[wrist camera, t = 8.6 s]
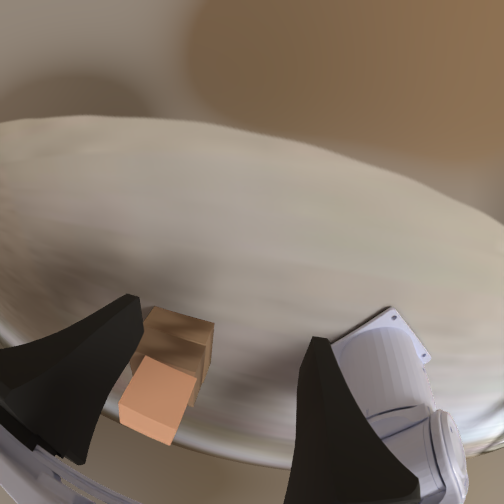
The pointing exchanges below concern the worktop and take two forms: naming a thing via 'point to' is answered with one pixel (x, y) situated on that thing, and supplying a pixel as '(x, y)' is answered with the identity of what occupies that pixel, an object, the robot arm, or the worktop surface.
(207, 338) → the tower base
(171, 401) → the terracotta block
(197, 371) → the tower top
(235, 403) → the worktop surface
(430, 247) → the worktop surface
